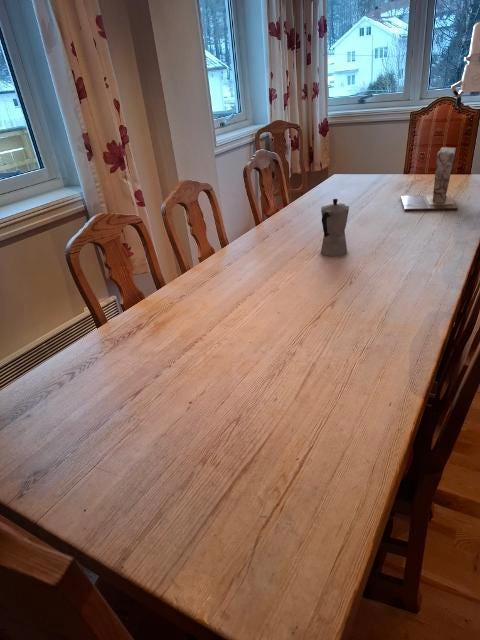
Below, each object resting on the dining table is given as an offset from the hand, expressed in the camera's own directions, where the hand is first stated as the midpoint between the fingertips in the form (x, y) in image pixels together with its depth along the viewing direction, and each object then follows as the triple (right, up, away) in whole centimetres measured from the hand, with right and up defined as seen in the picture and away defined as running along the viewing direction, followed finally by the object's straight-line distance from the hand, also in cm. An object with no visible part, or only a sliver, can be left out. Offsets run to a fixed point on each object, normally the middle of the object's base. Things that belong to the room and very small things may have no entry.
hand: (470, 107), depth 178 cm
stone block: (-11, -37, +5) cm, 39 cm away
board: (-16, -39, +4) cm, 42 cm away
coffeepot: (-64, -66, -32) cm, 98 cm away
